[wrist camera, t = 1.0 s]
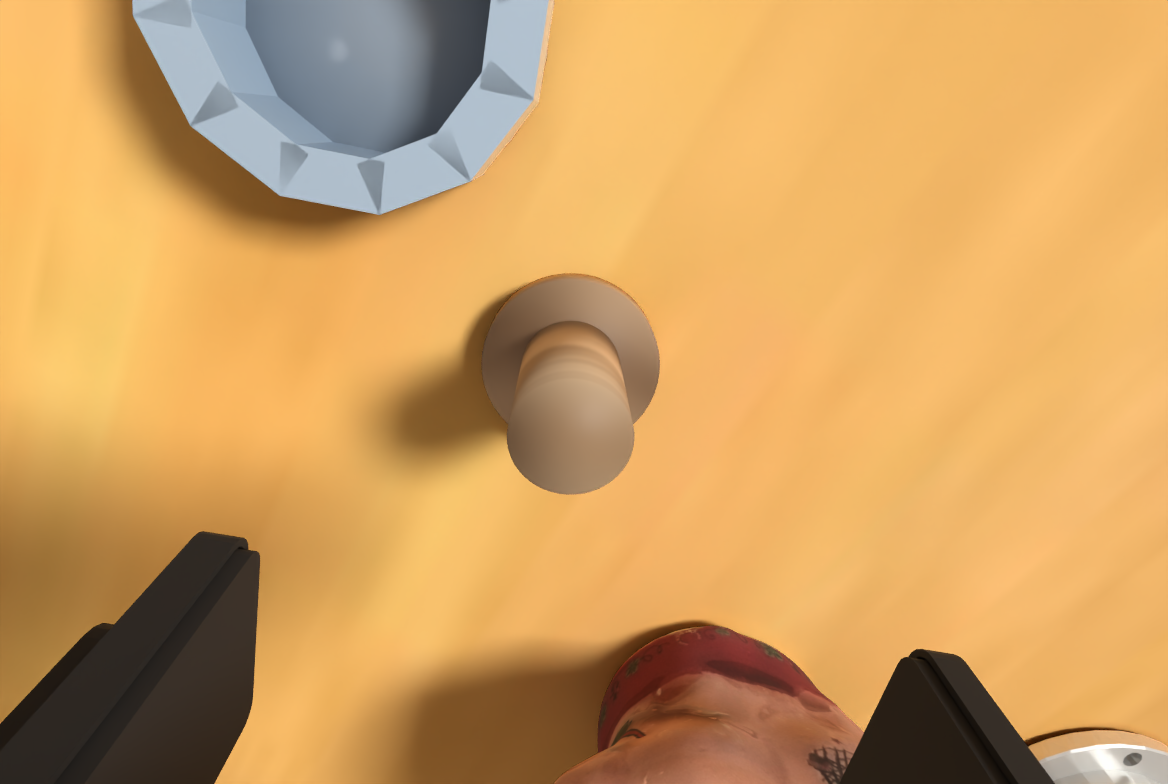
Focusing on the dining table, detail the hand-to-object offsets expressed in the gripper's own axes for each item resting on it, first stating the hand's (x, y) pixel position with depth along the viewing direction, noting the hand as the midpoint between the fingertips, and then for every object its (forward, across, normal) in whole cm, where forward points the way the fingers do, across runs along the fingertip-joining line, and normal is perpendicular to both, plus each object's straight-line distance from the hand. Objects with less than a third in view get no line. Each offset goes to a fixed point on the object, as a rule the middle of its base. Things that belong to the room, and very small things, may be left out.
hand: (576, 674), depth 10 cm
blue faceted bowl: (+17, +8, -9) cm, 21 cm away
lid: (+17, 0, +1) cm, 17 cm away
